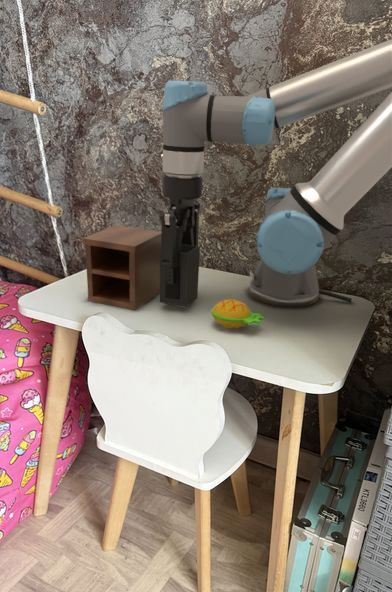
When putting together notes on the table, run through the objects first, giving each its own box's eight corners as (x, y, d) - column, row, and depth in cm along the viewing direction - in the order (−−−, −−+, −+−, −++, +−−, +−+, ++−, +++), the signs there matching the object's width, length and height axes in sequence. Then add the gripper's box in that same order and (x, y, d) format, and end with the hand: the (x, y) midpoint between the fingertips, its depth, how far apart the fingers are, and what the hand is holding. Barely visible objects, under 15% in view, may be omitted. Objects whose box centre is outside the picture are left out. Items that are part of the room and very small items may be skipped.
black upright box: (197, 298, 109) (200, 246, 104) (186, 307, 104) (188, 253, 99) (171, 293, 111) (172, 242, 106) (159, 302, 106) (159, 249, 101)
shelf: (162, 291, 115) (163, 232, 109) (135, 310, 105) (135, 246, 99) (116, 283, 119) (114, 225, 113) (86, 301, 108) (82, 238, 102)
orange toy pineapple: (218, 316, 104) (220, 291, 101) (266, 326, 100) (269, 300, 98) (204, 329, 98) (205, 302, 96) (255, 340, 94) (257, 313, 92)
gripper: (184, 167, 105) (180, 276, 116) (140, 179, 89) (141, 304, 100) (219, 170, 103) (212, 282, 113) (180, 183, 87) (177, 311, 97)
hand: (179, 292), depth 106 cm, fingers closed on black upright box, 6 cm apart
